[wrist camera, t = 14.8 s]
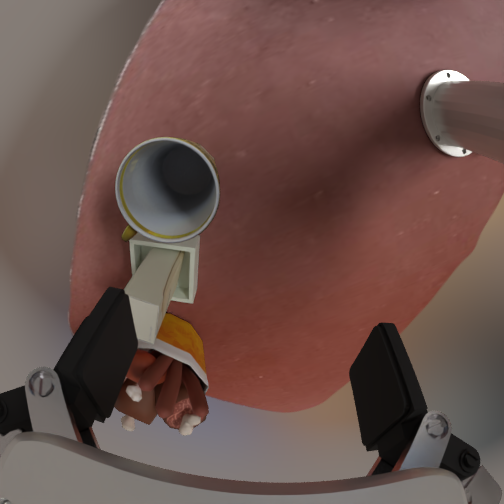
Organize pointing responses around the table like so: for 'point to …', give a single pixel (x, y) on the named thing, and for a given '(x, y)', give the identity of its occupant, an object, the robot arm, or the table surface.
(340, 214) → the table surface
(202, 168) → the ceramic cup
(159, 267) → the skincare box
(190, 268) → the holder
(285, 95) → the table surface
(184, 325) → the bucket of meat
